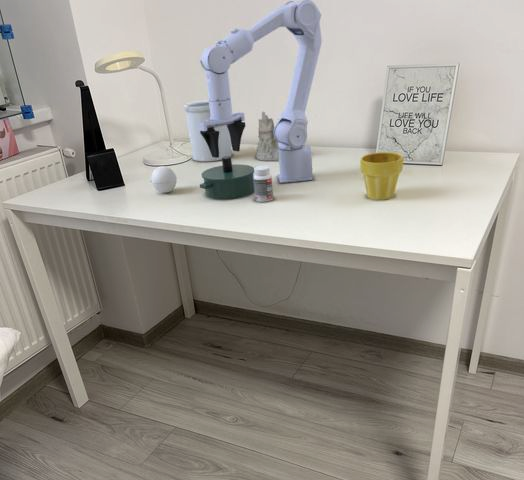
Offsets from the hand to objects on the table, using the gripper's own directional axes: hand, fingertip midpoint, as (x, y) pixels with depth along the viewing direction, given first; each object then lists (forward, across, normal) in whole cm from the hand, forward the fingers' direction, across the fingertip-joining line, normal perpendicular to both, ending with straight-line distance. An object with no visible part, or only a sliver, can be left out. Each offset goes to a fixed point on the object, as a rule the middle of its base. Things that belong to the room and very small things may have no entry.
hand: (225, 153), depth 147 cm
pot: (+10, 0, 0) cm, 10 cm away
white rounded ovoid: (+11, +11, -17) cm, 23 cm away
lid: (+5, 0, 0) cm, 5 cm away
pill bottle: (+11, 0, +14) cm, 17 cm away
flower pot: (+11, -17, +38) cm, 43 cm away
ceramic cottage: (+11, -38, -16) cm, 42 cm away
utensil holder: (+11, -25, -36) cm, 46 cm away
